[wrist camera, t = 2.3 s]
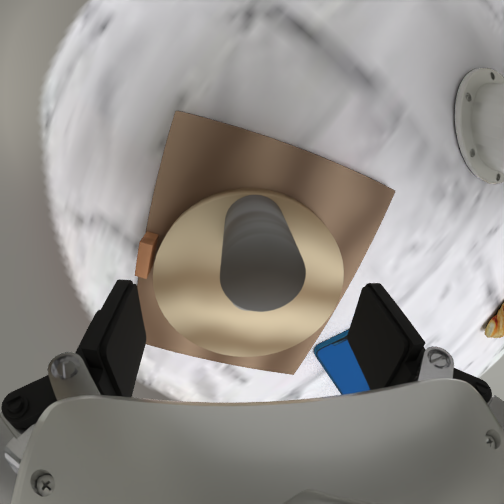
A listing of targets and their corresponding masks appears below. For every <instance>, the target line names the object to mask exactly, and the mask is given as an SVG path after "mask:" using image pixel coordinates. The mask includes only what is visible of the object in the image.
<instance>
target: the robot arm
mask: <svg viewBox="0 0 504 504" xmlns="http://www.w3.org/2000/svg"><path fill="white" fill-rule="evenodd" d="M455 126H456V134H457V139H458V144H459V147H460V150H461V153H462V156H463V158H464V160H465V162H466V164H467V166H468V167H469V169H470V170H471V171H472V173H473V174H474V175H475V176H476V177H478V178H479V179H481V180H483V181H485V182H487V183H490V184H499V183H502V182H504V77H503V76H502V75H501V74H499V73H498V72H497V71H495V70H492V69H489V68H479V69H474V70H472V71H470V72H469V73H468V74H467V75H466V76H465V77H464V79H463V80H462V82H461V84H460V86H459V90H458V93H457V97H456V104H455ZM347 339H348V343H349V345H350V347H351V349H352V351H353V353H354V355H355V358H356V360H357V362H358V364H359V366H360V368H361V370H362V373H363V375H364V377H365V379H366V381H367V384H368V386H369V388H370V390H369V391H363V392H357V393H350V394H344V395H336V396H329V397H320V398H311V399H301V400H289V401H273V402H248V403H208V402H183V401H167V400H154V399H143V398H133V397H132V393H133V389H134V385H135V381H136V377H137V373H138V370H139V366H140V362H141V359H142V355H143V351H144V348H145V344H146V331H145V326H144V321H143V316H142V311H141V306H140V300H139V294H138V288H137V285H136V284H133V282H132V281H131V280H117V282H116V284H115V285H114V287H113V289H112V291H111V292H110V294H109V296H108V298H107V299H106V301H105V303H104V305H103V307H102V308H101V310H98V311H97V312H96V314H95V316H94V318H93V320H92V321H91V323H90V325H89V327H88V329H87V331H86V333H85V335H84V337H83V339H82V341H81V343H80V345H79V347H78V349H77V351H76V353H72V352H65V353H61V354H59V355H57V356H55V357H54V358H53V359H52V360H51V361H50V363H49V365H48V369H47V371H48V375H47V376H45V377H43V378H41V379H39V380H37V381H34V382H32V383H30V384H28V385H26V386H24V387H22V388H20V389H17V390H15V391H13V392H11V393H9V394H8V395H7V396H6V397H5V399H4V401H3V402H2V412H1V413H0V504H504V401H502V400H501V399H500V398H498V397H497V396H495V395H494V397H492V392H491V389H490V387H489V386H488V384H487V383H486V382H485V381H483V380H481V379H479V378H477V377H474V376H472V375H470V374H467V373H465V372H463V371H460V370H458V369H455V368H454V361H453V358H452V356H451V355H450V354H449V353H448V352H447V351H446V350H444V349H442V348H440V347H429V348H427V349H426V350H425V348H424V345H425V342H424V340H423V339H422V337H421V336H420V335H419V333H418V332H417V331H416V329H415V328H414V326H413V325H412V324H411V322H410V321H409V320H408V318H407V317H406V316H405V314H404V313H403V312H402V310H401V309H400V308H399V307H398V305H397V304H396V303H395V301H394V300H393V299H392V298H391V296H390V295H389V294H388V292H387V291H386V290H385V289H384V287H383V286H382V285H381V284H380V283H368V284H367V285H366V286H365V287H363V288H362V291H361V294H360V297H359V301H358V304H357V307H356V310H355V313H354V316H353V320H352V323H351V326H350V329H349V332H348V335H347Z"/></svg>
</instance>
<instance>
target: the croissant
mask: <svg viewBox="0 0 504 504" xmlns="http://www.w3.org/2000/svg"><path fill="white" fill-rule="evenodd" d="M485 335H486V336H487V337H493V338H501V337H503V336H504V303H503V304H502V306H501V308H500V309H499V310H498V313H497V315H495V316H494V317H492V319H491V320H490V322H489V323H488V325H487V326H486V329H485Z"/></svg>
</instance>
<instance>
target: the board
mask: <svg viewBox="0 0 504 504" xmlns="http://www.w3.org/2000/svg"><path fill="white" fill-rule="evenodd" d="M240 188H258V189H267V190H271V191H275V192H279V193H282V194H285V195H287V196H290V197H292V198H294V199H296V200H298V201H299V202H301V203H303V204H304V205H306V206H307V207H308V208H309V209H311V210H312V211H313V212H314V213H315V214H316V215H317V216H318V217H319V218H320V219H321V220H322V222H323V223H324V224H325V226H326V227H327V228H328V230H329V231H330V233H331V234H332V236H333V237H334V239H335V241H336V243H337V245H338V247H339V249H340V253H341V256H342V260H343V268H344V280H343V286H342V292H341V295H340V297H339V300H338V303H337V305H338V304H339V302H340V300H341V298H342V297H343V295H344V293H345V291H346V290H347V288H348V286H349V284H350V282H351V281H352V279H353V277H354V275H355V273H356V271H357V270H358V268H359V266H360V264H361V262H362V260H363V258H364V256H365V254H366V252H367V250H368V248H369V246H370V244H371V242H372V240H373V238H374V236H375V234H376V232H377V230H378V228H379V226H380V224H381V222H382V220H383V218H384V216H385V213H386V211H387V209H388V207H389V205H390V202H391V200H392V198H393V196H394V193H395V190H393V189H391V188H389V187H388V186H386V185H384V184H381V183H379V182H377V181H375V180H373V179H371V178H369V177H367V176H365V175H362V174H360V173H358V172H356V171H354V170H351V169H349V168H347V167H345V166H342V165H340V164H338V163H335V162H333V161H331V160H328V159H326V158H323V157H321V156H318V155H316V154H313V153H311V152H308V151H306V150H303V149H300V148H298V147H295V146H292V145H290V144H287V143H284V142H281V141H279V140H276V139H273V138H270V137H267V136H264V135H261V134H258V133H255V132H252V131H249V130H246V129H242V128H239V127H236V126H233V125H229V124H226V123H222V122H219V121H215V120H212V119H208V118H204V117H201V116H197V115H193V114H189V113H185V112H181V111H175V114H174V118H173V121H172V124H171V128H170V131H169V134H168V138H167V142H166V145H165V149H164V153H163V156H162V160H161V164H160V168H159V172H158V176H157V181H156V185H155V189H154V194H153V198H152V203H151V208H150V212H149V217H148V223H147V228H146V233H145V235H144V236H143V238H142V239H141V241H140V243H139V249H138V256H137V263H136V270H135V276H138V284H137V288H138V294H139V300H140V306H141V311H142V316H143V321H144V326H145V331H146V344H147V345H151V346H154V347H158V348H162V349H165V350H169V351H173V352H177V353H181V354H185V355H189V356H193V357H198V358H202V359H207V360H211V361H216V362H221V363H226V364H231V365H236V366H241V367H247V368H252V369H258V370H265V371H271V372H278V373H285V374H292V375H294V373H295V372H296V370H297V369H298V368H299V366H300V365H301V363H302V362H303V360H304V359H305V357H306V356H307V354H308V352H309V351H310V349H311V348H312V346H313V345H314V343H315V342H316V340H317V338H318V337H319V335H320V334H321V332H322V330H323V329H324V327H325V325H326V324H327V322H328V321H329V319H330V317H331V316H332V314H333V312H334V311H333V312H332V314H331V315H330V316H329V318H328V319H327V320H326V322H325V323H324V324H323V325H322V326H321V327H320V328H319V329H318V330H317V331H316V332H315V333H314V334H312V335H311V336H310V337H308V338H307V339H305V340H304V341H302V342H300V343H299V344H297V345H295V346H293V347H291V348H288V349H286V350H283V351H280V352H277V353H273V354H269V355H263V356H256V357H237V356H229V355H223V354H219V353H215V352H212V351H209V350H207V349H204V348H202V347H200V346H198V345H196V344H194V343H192V342H191V341H189V340H188V339H186V338H185V337H184V336H182V335H181V334H180V333H179V332H177V331H176V329H175V328H174V327H173V326H172V325H171V324H170V323H169V322H168V320H167V319H166V318H165V316H164V314H163V313H162V311H161V309H160V307H159V305H158V302H157V299H156V297H155V292H154V287H153V269H154V263H155V259H156V255H157V252H158V250H159V248H160V246H161V243H162V242H163V240H164V238H165V236H166V234H167V232H168V231H169V229H170V228H171V226H172V225H173V223H174V222H175V221H176V220H177V219H178V218H179V217H180V215H181V214H183V213H184V212H185V211H186V210H187V209H189V208H190V207H191V206H192V205H194V204H196V203H197V202H199V201H201V200H202V199H204V198H207V197H209V196H211V195H213V194H216V193H220V192H223V191H227V190H233V189H240ZM337 305H336V307H337ZM336 307H335V309H336ZM335 309H334V310H335Z"/></svg>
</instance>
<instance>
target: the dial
mask: <svg viewBox="0 0 504 504" xmlns="http://www.w3.org/2000/svg"><path fill="white" fill-rule="evenodd" d="M343 280H344V268H343V260H342V256H341V253H340V249H339V247H338V245H337V243H336V241H335V239H334V237H333V236H332V234H331V233H330V231H329V230H328V228H327V227H326V226H325V224H324V223H323V222H322V220H321V219H320V218H319V217H318V216H317V215H316V214H315V213H314V212H313V211H312V210H311V209H309V208H308V207H307V206H306V205H304V204H303V203H301V202H299V201H298V200H296V199H294V198H292V197H290V196H287V195H285V194H282V193H279V192H275V191H271V190H267V189H258V188H240V189H233V190H227V191H223V192H220V193H216V194H213V195H211V196H209V197H207V198H204V199H202V200H201V201H199V202H197V203H196V204H194V205H192V206H191V207H190V208H189V209H187V210H186V211H185V212H184V213H183V214H181V215H180V217H179V218H178V219H177V220H176V221H175V222H174V223H173V225H172V226H171V228H170V229H169V231H168V232H167V234H166V236H165V238H164V240H163V242H162V243H161V246H160V248H159V250H158V252H157V255H156V259H155V263H154V269H153V287H154V292H155V297H156V299H157V302H158V305H159V307H160V309H161V311H162V313H163V314H164V316H165V318H166V319H167V320H168V322H169V323H170V324H171V325H172V326H173V327H174V328H175V329H176V331H177V332H179V333H180V334H181V335H182V336H184V337H185V338H186V339H188V340H189V341H191V342H192V343H194V344H196V345H198V346H200V347H202V348H204V349H207V350H209V351H212V352H215V353H219V354H223V355H229V356H237V357H256V356H263V355H269V354H273V353H277V352H280V351H283V350H286V349H288V348H291V347H293V346H295V345H297V344H299V343H300V342H302V341H304V340H305V339H307V338H308V337H310V336H311V335H312V334H314V333H315V332H316V331H317V330H318V329H319V328H320V327H321V326H322V325H323V324H324V323H325V322H326V320H327V319H328V318H329V316H330V315H331V314H332V312H333V311H334V309H335V307H336V305H337V303H338V300H339V297H340V295H341V292H342V286H343Z"/></svg>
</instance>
